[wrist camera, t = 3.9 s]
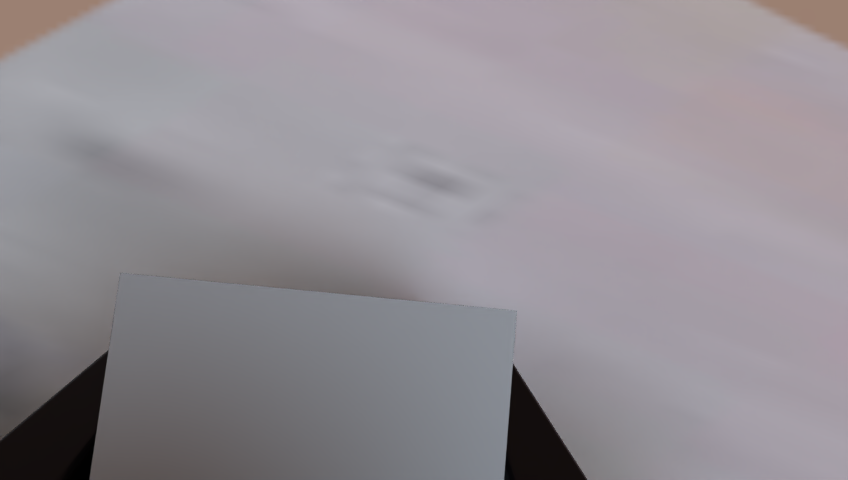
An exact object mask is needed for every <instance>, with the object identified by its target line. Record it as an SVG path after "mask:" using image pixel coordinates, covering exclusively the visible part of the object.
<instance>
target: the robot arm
mask: <svg viewBox="0 0 848 480" xmlns="http://www.w3.org/2000/svg"><path fill="white" fill-rule="evenodd" d="M108 351H109V350H108ZM108 351H107V352H106V353H105V354H103V355H102V356H101V357H100V358H99V359H97V360H96V361H95V362H94V363H93V364H91V365H90V366H89V367H88V368H87V369H85V370H84V371H83V372H82V373H81V374H79V375H78V376H77V377H76V378H75V379H73V380H72V381H71V382H70V383H69V384H67V385H66V386H65V387H64V388H63V389H61V390H60V391H59V392H58V393H57V394H55V395H54V396H53V397H52V398H51V399H49V400H48V401H47V402H46V403H45V404H43V405H42V406H41V407H40V408H39V409H37V410H36V411H35V412H34V413H33V414H31V415H30V416H29V417H28V418H27V419H25V420H24V421H23V422H22V423H21V424H19V425H18V426H17V427H16V428H15V429H13V430H12V431H11V432H10V433H9V434H7V435H6V436H5V437H4V438H2V439H1V440H0V480H89V479H90V472H91V466H92V459H93V452H94V445H95V439H96V432H97V425H98V418H99V412H100V405H101V398H102V391H103V385H104V378H105V371H106V364H107V358H108ZM504 480H587V478H586V477H585V475H584V474H583V472H582V471H581V469H580V468H579V466H578V464H577V463H576V461H575V460H574V458H573V457H572V455H571V453H570V452H569V450H568V449H567V447H566V446H565V444H564V443H563V441H562V439H561V438H560V436H559V435H558V433H557V432H556V430H555V428H554V427H553V425H552V424H551V422H550V421H549V419H548V418H547V416H546V414H545V413H544V411H543V410H542V408H541V407H540V405H539V403H538V402H537V400H536V399H535V397H534V396H533V394H532V393H531V391H530V389H529V388H528V386H527V385H526V383H525V382H524V380H523V379H522V377H521V375H520V374H519V372H518V371H517V369H516V368H515V366H514V364H513V368H512V382H511V395H510V408H509V421H508V434H507V448H506V461H505V474H504Z"/></svg>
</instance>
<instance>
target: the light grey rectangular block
mask: <svg viewBox="0 0 848 480" xmlns="http://www.w3.org/2000/svg"><path fill="white" fill-rule="evenodd" d="M516 316H517V311H516V310H505V309H495V308H484V307H474V306H464V305H453V304H443V303H432V302H422V301H411V300H401V299H390V298H380V297H369V296H359V295H348V294H338V293H328V292H317V291H307V290H296V289H286V288H275V287H265V286H254V285H244V284H233V283H223V282H212V281H202V280H191V279H181V278H171V277H160V276H150V275H139V274H129V273H120V277H119V284H118V290H117V297H116V304H115V311H114V317H113V324H112V331H111V338H110V344H109V351H108V358H107V364H106V371H105V378H104V385H103V391H102V398H101V405H100V412H99V418H98V425H97V432H96V439H95V445H94V452H93V459H92V466H91V472H90V479H89V480H504V474H505V461H506V448H507V434H508V421H509V408H510V395H511V382H512V368H513V355H514V342H515V329H516Z"/></svg>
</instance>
